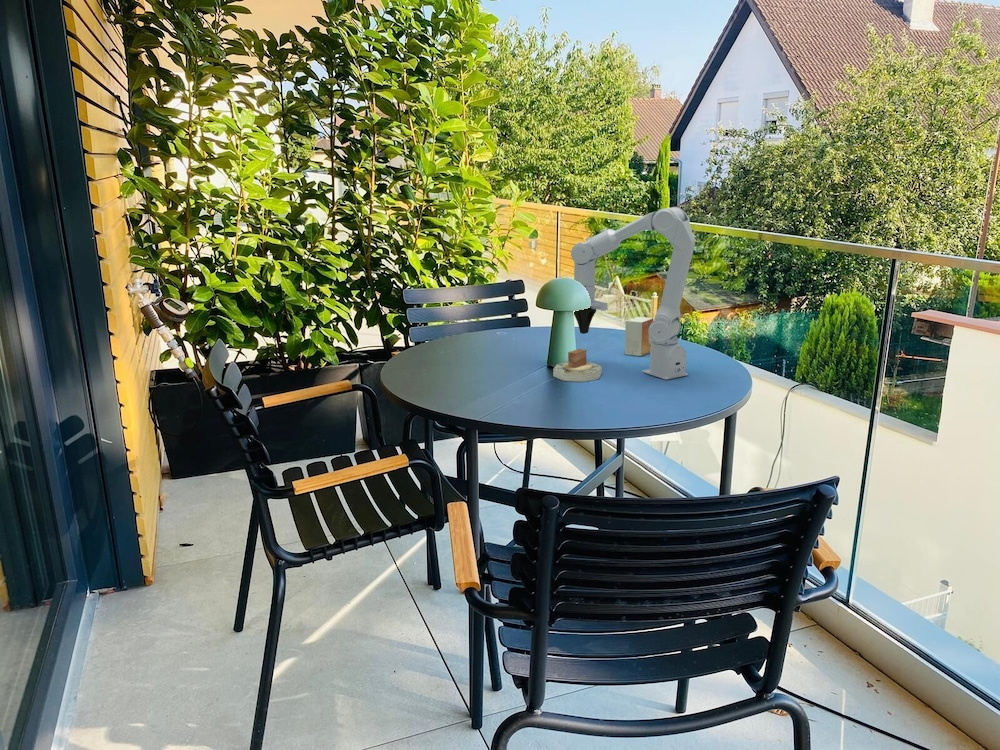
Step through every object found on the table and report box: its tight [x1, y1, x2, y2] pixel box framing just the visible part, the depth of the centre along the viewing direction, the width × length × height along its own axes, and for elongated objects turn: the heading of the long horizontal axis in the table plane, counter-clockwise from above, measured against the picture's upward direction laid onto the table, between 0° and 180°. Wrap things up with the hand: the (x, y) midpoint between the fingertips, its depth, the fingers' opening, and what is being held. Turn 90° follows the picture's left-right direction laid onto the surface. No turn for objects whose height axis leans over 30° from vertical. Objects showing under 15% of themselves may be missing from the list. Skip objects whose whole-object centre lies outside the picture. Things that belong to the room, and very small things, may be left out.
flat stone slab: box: [552, 361, 603, 383], centre depth 192 cm, size 12×12×2 cm
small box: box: [624, 316, 654, 357], centre depth 214 cm, size 8×6×10 cm
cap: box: [563, 348, 592, 371], centre depth 192 cm, size 8×8×7 cm
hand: (584, 332), depth 201 cm, fingers closed
